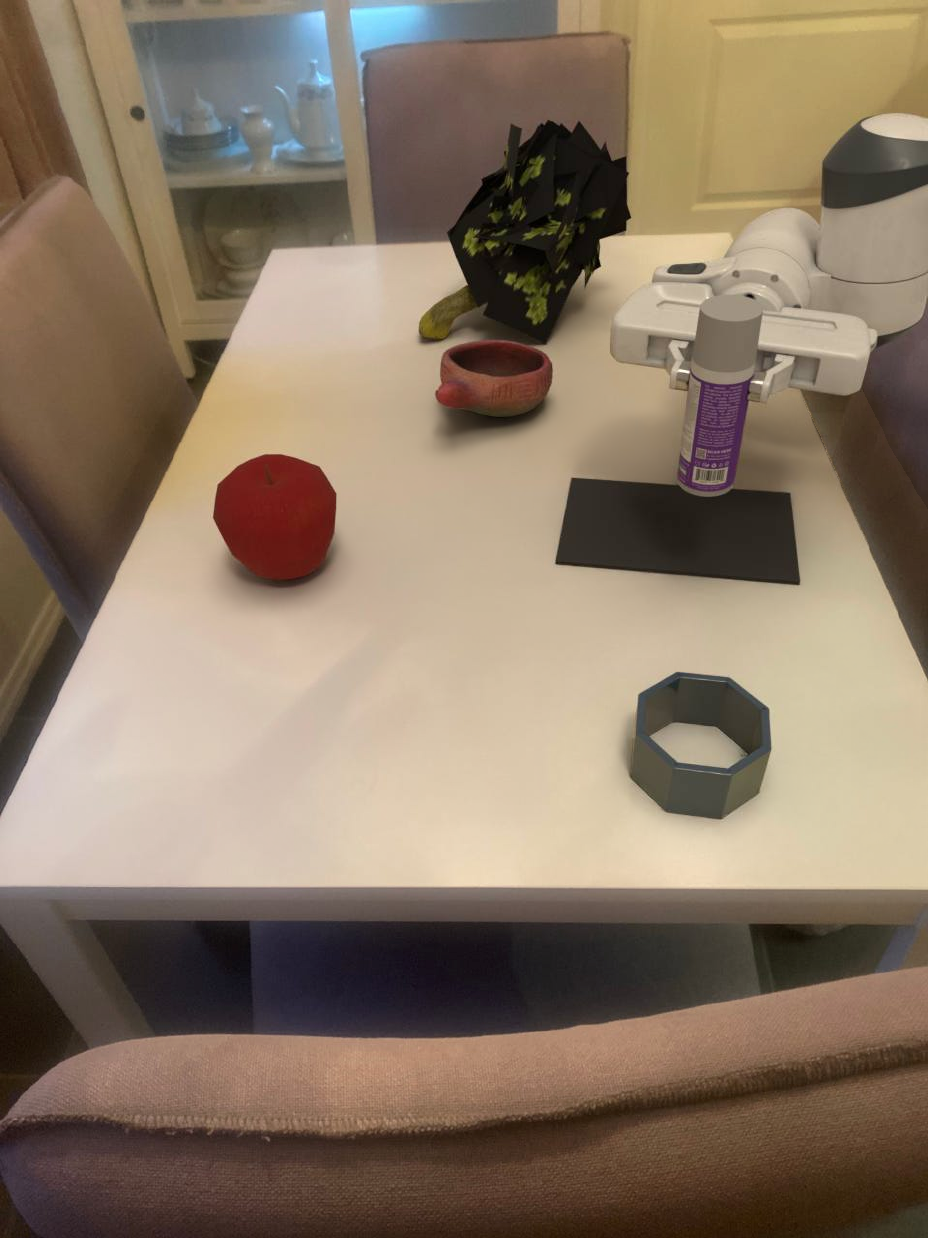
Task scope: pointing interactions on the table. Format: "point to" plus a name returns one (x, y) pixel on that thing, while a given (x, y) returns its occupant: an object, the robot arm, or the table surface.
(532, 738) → the table surface
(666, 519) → the mat
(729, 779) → the octagonal ring
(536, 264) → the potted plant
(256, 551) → the apple
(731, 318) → the container
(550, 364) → the bowl
